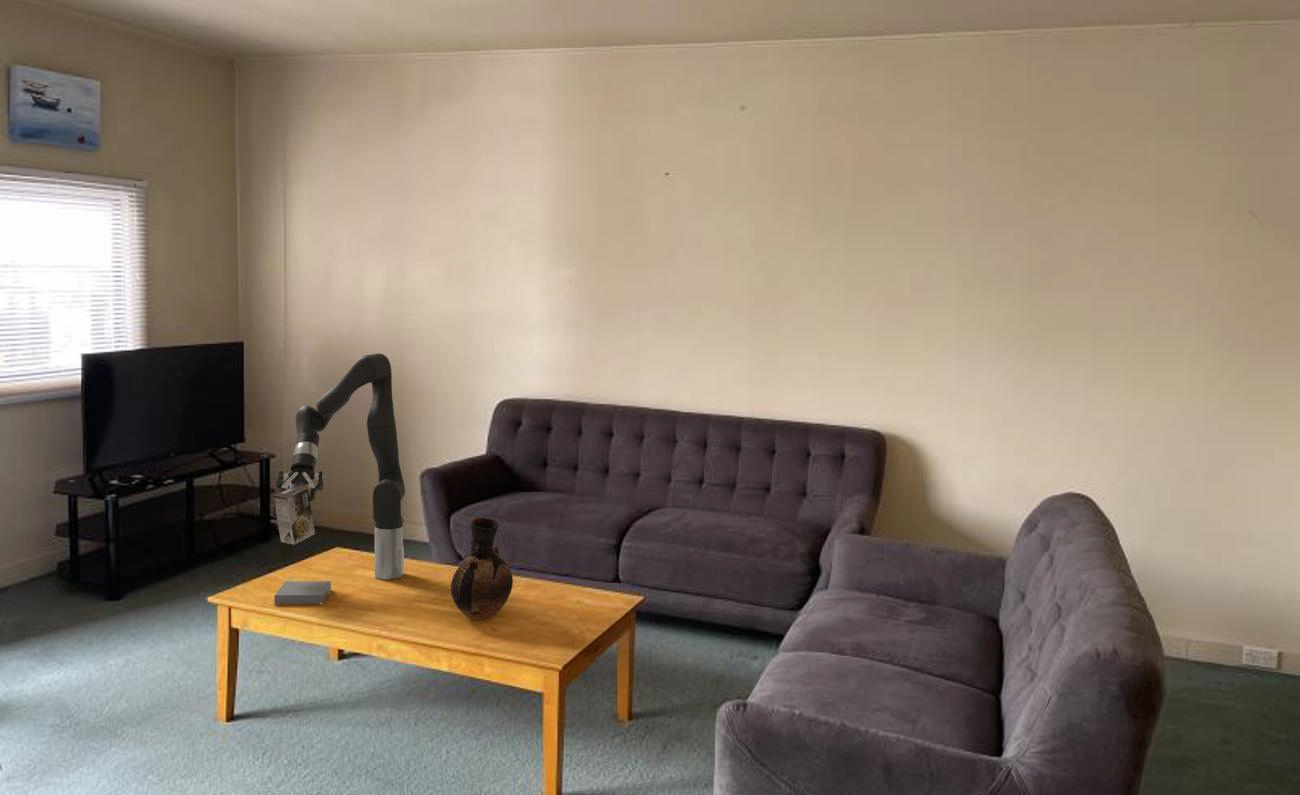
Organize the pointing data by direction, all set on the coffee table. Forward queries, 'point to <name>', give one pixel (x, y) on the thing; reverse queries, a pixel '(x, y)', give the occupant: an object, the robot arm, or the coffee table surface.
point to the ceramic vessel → (482, 574)
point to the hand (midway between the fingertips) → (297, 500)
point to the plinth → (302, 592)
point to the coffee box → (294, 515)
